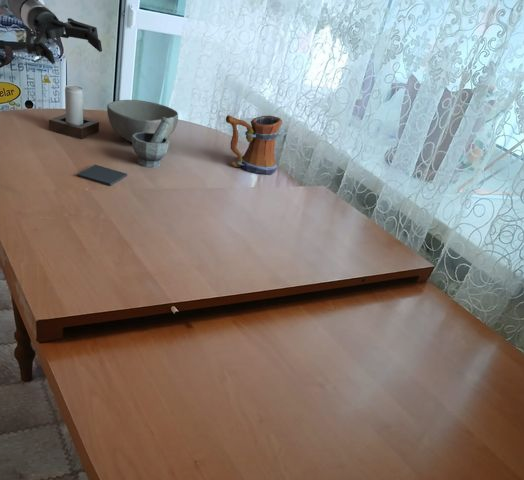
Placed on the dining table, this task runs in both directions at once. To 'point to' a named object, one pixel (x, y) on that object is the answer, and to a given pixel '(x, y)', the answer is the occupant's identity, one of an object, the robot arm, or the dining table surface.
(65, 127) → the frame
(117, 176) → the mat
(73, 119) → the beverage can
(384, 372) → the dining table surface
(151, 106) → the bowl
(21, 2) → the robot arm
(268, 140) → the mug
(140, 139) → the mortar and pestle
